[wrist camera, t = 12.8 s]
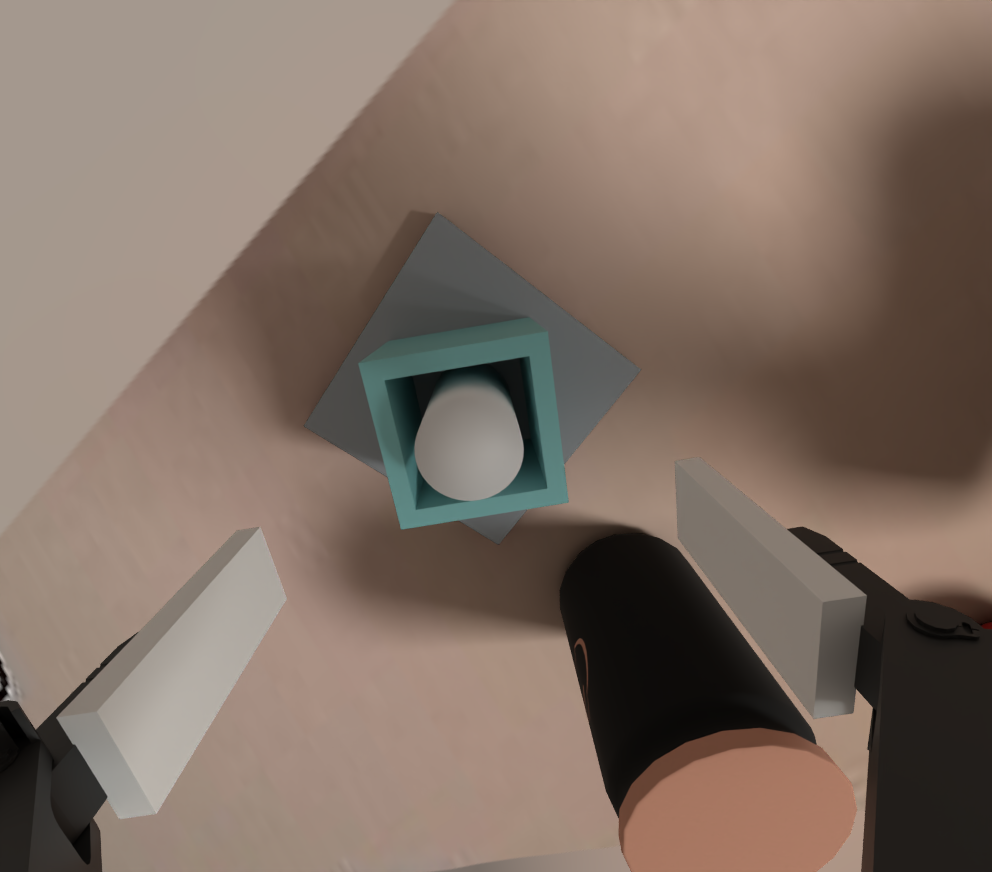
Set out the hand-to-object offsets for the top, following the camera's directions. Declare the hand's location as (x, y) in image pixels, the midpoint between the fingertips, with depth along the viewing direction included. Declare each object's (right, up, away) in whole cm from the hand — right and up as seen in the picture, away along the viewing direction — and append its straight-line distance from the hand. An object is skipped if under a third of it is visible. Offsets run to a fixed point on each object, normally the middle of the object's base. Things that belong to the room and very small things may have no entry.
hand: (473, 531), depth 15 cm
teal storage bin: (-1, +6, +16) cm, 17 cm away
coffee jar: (+11, -9, +23) cm, 27 cm away
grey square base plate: (-1, +6, +18) cm, 19 cm away
